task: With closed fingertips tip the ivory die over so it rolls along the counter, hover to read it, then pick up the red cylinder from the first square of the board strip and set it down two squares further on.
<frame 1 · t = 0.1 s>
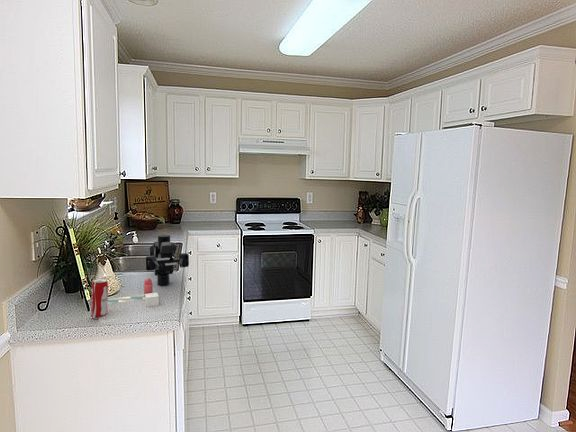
hand: (170, 266, 167), 17 cm above the worktop, tool horizontal, fingers open, 9 cm apart
board: (130, 300, 171), on the worktop
beverage can: (100, 317, 153), on the worktop
red cylinder: (148, 296, 174), point 1 cm above the worktop, touching board
die: (152, 306, 165), on the worktop
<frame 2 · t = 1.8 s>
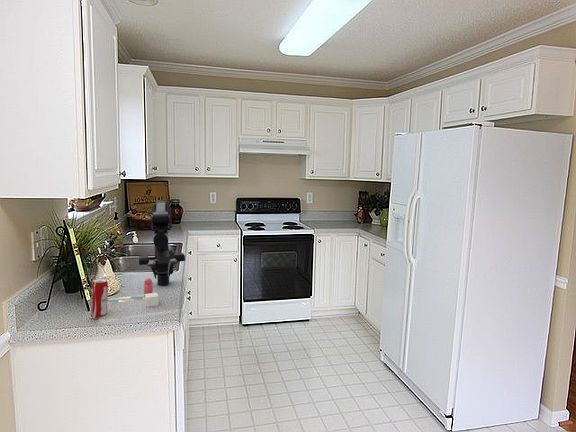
hand: (162, 277, 165), 12 cm above the worktop, tool pointing down, fingers open, 5 cm apart
nothing on the worktop moved.
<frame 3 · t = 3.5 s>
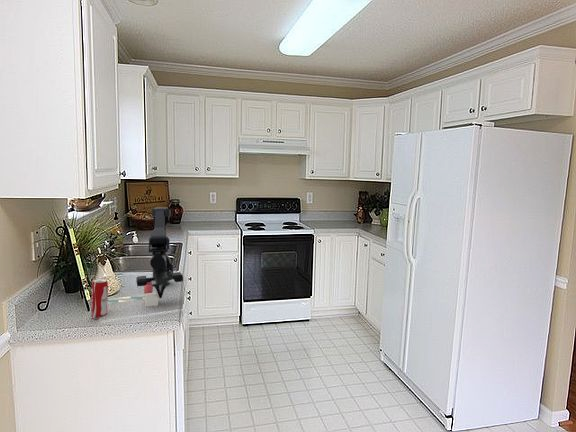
hand: (160, 298, 166), 3 cm above the worktop, tool pointing down, fingers closed
die: (151, 306, 165), on the worktop, touching gripper
everything else where it was.
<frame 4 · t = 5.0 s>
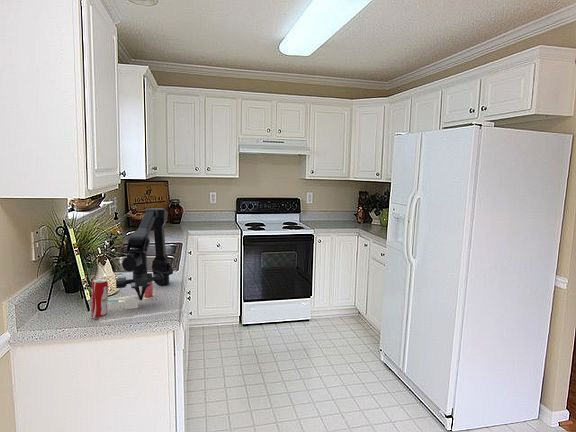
hand: (140, 300, 163), 3 cm above the worktop, tool pointing down, fingers closed
die: (131, 309, 161), on the worktop
everything else where it was.
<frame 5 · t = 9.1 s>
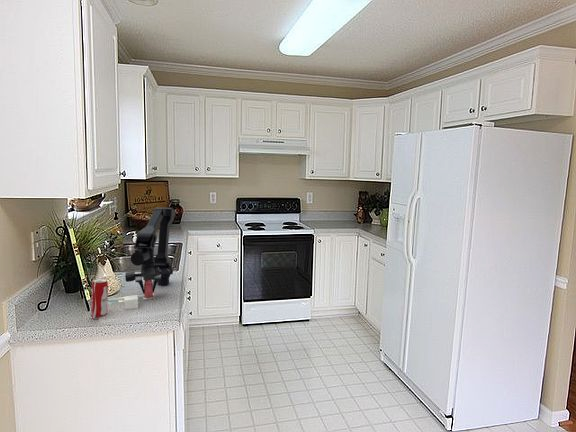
hand: (148, 293, 173), 3 cm above the worktop, tool pointing down, fingers closed on red cylinder, 4 cm apart
red cylinder: (148, 296, 174), point 1 cm above the worktop, touching board, gripper
everything else where it was.
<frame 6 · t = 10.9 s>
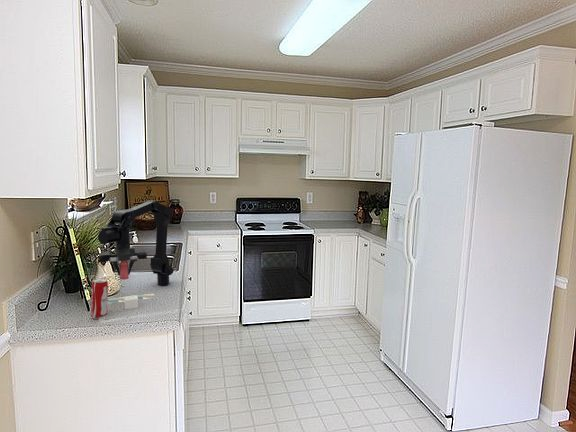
hand: (124, 275, 168), 12 cm above the worktop, tool pointing down, fingers closed on red cylinder, 4 cm apart
red cylinder: (124, 278, 168), point 11 cm above the worktop, touching gripper
everything else where it was.
when the fingers open (3 cm above the worktop, at t = 12.7 s): red cylinder stays where it is, resting on board.
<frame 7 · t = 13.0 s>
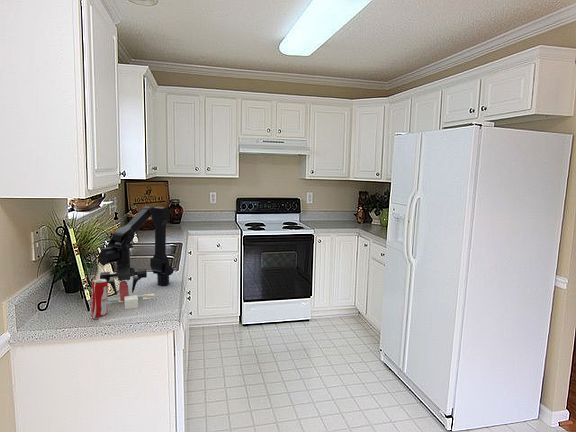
hand: (124, 293, 169), 3 cm above the worktop, tool pointing down, fingers open, 6 cm apart
red cylinder: (124, 299, 169), point 1 cm above the worktop, touching board
everything else where it was.
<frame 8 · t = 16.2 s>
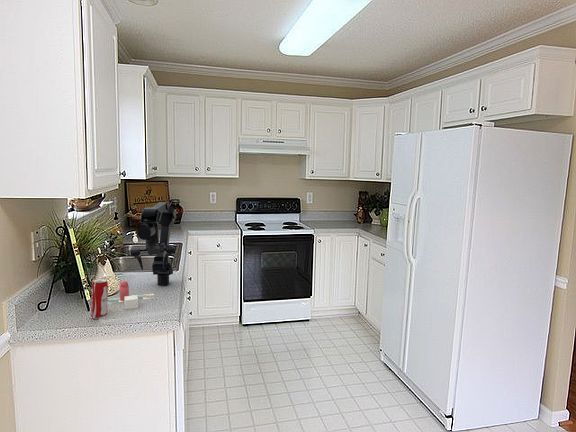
hand: (153, 268, 175), 13 cm above the worktop, tool pointing down, fingers open, 9 cm apart
nothing on the worktop moved.
at the end: red cylinder 0.1 cm from the target spot on the board, point 1.0 cm above the board's base; red cylinder tilted 0°; die moved 8.2 cm from its start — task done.
